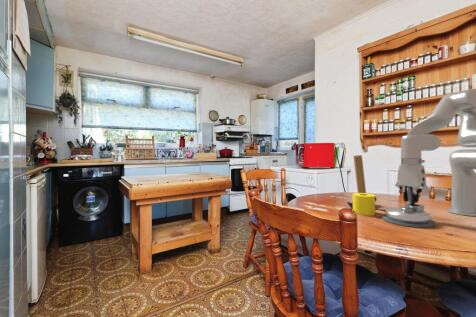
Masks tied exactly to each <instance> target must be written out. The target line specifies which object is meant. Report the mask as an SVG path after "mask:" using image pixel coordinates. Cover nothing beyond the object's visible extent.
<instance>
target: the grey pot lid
mask: <svg viewBox="0 0 476 317" xmlns="http://www.w3.org/2000/svg"><path fill="white" fill-rule="evenodd" d="M385 214H386V217H387V218H389V219H391V220H395V221H399V222H404V223H412V224H426V223H429V222H430V219H431V214H430V213H429V211H428V212H427V211H425V204H424V205H423V204H418V203H417V204H416V203H415V206H412V205H408V203H404V206H403V207H388V208H386V209H385Z"/></svg>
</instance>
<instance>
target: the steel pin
mask: <svg viewBox="0 0 476 317" xmlns="http://www.w3.org/2000/svg"><path fill="white" fill-rule="evenodd" d="M406 191H407V200H408V201H407V204H408V205H412V206H415V204H416V203H413V202H412V194H414V191H413V187H408V186H406Z"/></svg>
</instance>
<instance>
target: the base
mask: <svg viewBox="0 0 476 317" xmlns="http://www.w3.org/2000/svg"><path fill="white" fill-rule="evenodd" d="M381 219H382V220H383V221H385V222H387V223H390V224H393V225H396V226H401V227H405V228H406V227H407V228H417V229H426V228H427V229H429V227H430V228H433V227H435V226H436V224H435V221H434V220H433V219H431V218H430V222H429V223H426V224H412V223H404V222H399V221H395V220H391V219H389V218H387V217H386V213H383V214H382V216H381Z"/></svg>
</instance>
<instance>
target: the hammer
mask: <svg viewBox="0 0 476 317" xmlns="http://www.w3.org/2000/svg"><path fill="white" fill-rule="evenodd" d="M353 164H354V171H355V179H356V180H355V181H356V190H357V193H367V190H366V189H367V188H366V181H365V172H364V162H363V155H361V154H356V155H353ZM377 200H378V199H377V197H376V196H375V202H376V201H377ZM346 203H347V204H348V207H349V208H351V209H353V202H350V201H349V202H348V201H346Z"/></svg>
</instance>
